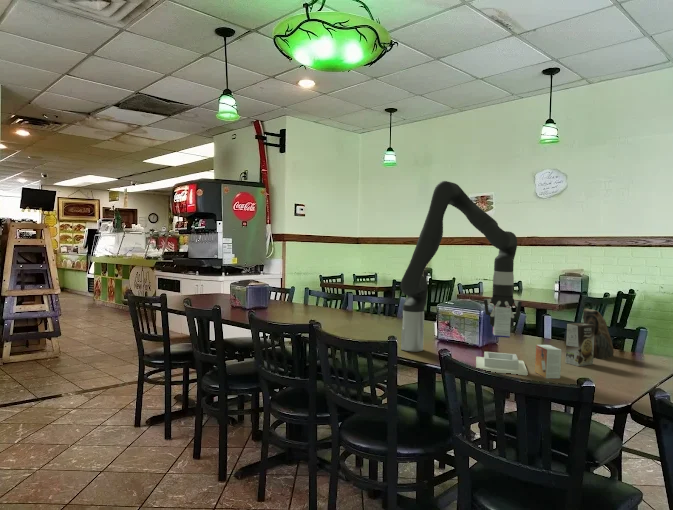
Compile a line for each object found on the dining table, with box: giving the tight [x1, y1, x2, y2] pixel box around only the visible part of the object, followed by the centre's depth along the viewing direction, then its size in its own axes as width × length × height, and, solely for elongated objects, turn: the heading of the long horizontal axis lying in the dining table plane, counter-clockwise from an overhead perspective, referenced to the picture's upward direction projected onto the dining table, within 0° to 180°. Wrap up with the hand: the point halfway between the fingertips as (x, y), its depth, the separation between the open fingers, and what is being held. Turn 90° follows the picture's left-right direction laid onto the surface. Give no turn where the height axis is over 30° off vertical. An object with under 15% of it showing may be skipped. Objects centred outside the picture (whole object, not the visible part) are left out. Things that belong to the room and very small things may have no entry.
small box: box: [534, 344, 563, 379], centre depth 176 cm, size 8×6×10 cm
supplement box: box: [492, 305, 512, 339], centre depth 186 cm, size 6×6×12 cm
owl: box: [582, 307, 614, 360], centre depth 211 cm, size 13×13×20 cm
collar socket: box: [475, 351, 529, 376], centre depth 186 cm, size 18×18×4 cm
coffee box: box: [565, 322, 595, 367], centre depth 195 cm, size 9×6×16 cm
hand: (501, 326), depth 186 cm, fingers closed on supplement box, 6 cm apart
